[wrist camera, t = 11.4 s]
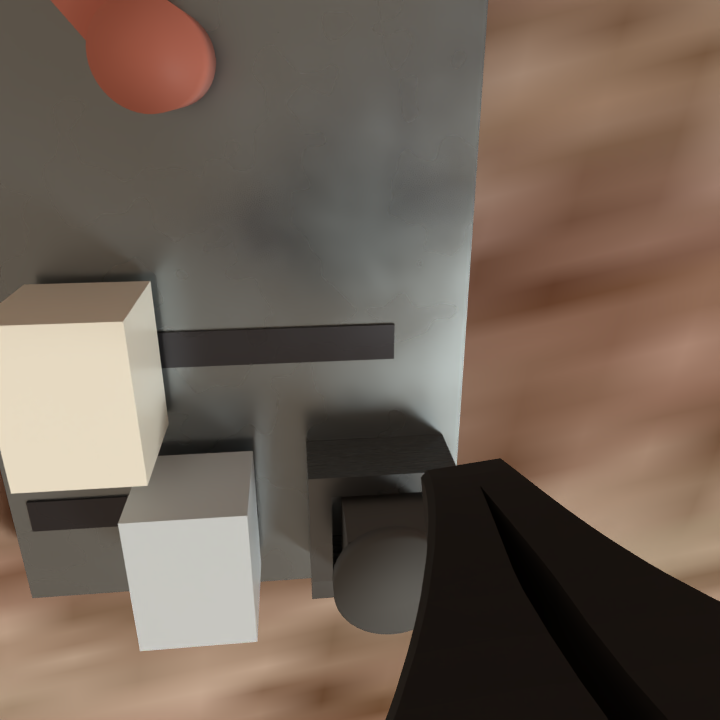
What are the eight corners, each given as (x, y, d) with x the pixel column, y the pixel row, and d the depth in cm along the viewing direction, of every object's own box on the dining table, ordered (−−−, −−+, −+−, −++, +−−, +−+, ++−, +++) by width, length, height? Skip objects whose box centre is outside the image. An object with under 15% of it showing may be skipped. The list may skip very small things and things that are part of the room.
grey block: (252, 450, 18) (247, 515, 16) (260, 564, 20) (257, 641, 17) (142, 456, 18) (117, 523, 15) (160, 571, 20) (140, 651, 17)
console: (497, -548, 13) (580, -794, 9) (436, 529, 23) (465, 613, 20) (-242, -618, 12) (-482, -935, 8) (38, 555, 22) (-12, 651, 18)
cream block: (150, 280, 16) (123, 321, 14) (168, 423, 18) (147, 485, 15) (23, 284, 16) (-31, 326, 13) (53, 429, 18) (11, 493, 15)
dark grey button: (433, 473, 18) (457, 534, 16) (429, 559, 19) (450, 629, 17) (326, 479, 18) (332, 542, 16) (328, 566, 19) (334, 639, 17)
